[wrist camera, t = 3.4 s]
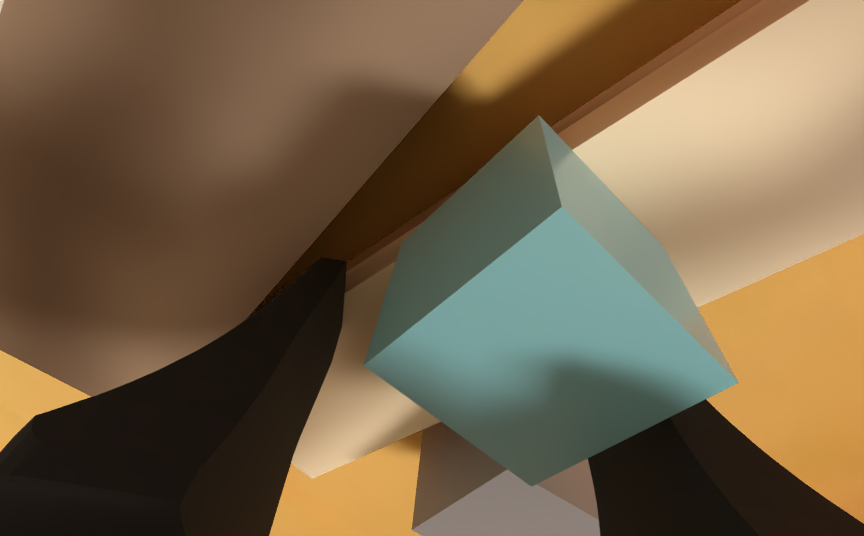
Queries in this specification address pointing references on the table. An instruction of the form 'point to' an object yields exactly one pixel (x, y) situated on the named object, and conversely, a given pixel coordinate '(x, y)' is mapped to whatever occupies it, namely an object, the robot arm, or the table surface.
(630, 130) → the tan tray
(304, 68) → the dock
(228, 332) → the robot arm
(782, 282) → the table surface
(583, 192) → the teal cube
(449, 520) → the grey cube
